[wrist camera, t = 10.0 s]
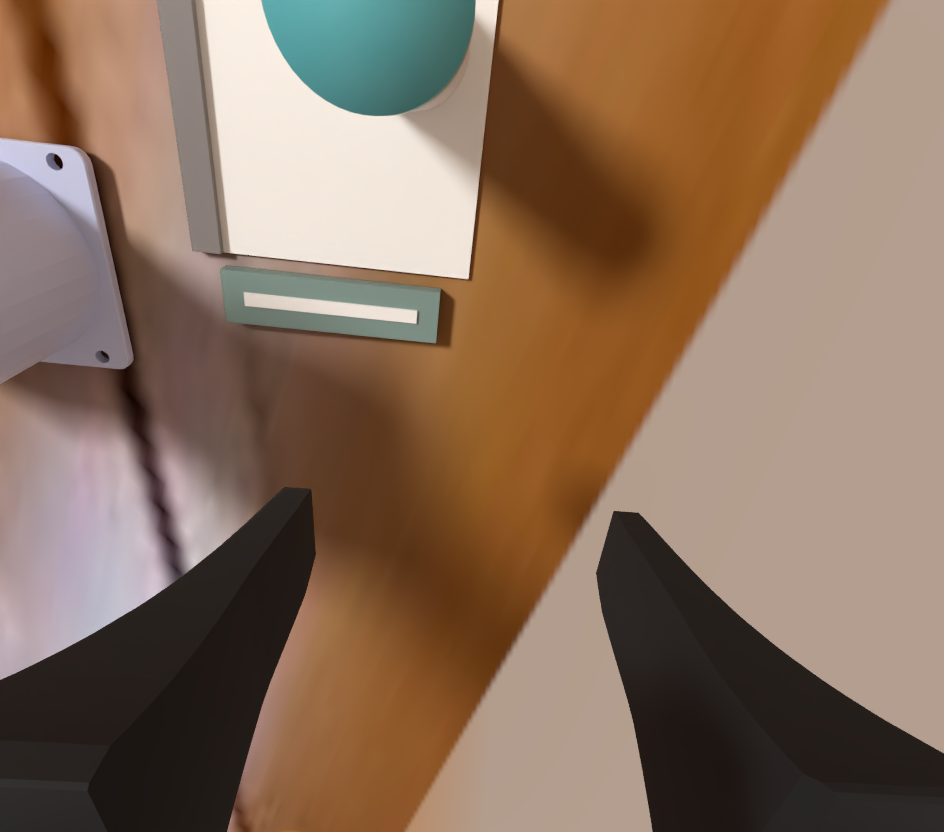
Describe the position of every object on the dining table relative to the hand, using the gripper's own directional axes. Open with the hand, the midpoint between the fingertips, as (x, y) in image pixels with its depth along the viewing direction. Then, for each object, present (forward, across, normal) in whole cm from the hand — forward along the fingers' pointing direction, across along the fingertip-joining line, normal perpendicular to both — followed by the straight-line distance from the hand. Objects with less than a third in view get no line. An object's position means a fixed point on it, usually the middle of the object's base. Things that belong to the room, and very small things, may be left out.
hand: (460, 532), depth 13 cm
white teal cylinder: (+10, +2, -10) cm, 15 cm away
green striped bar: (+10, +5, -2) cm, 12 cm away
